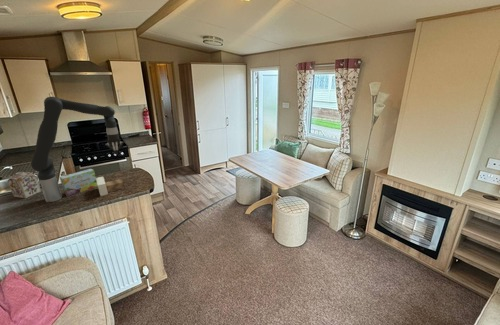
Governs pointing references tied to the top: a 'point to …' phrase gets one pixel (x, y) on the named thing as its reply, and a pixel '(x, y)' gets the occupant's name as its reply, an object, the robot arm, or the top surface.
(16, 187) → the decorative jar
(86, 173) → the snack box
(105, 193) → the cream rectangular block
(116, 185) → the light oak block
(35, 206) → the top surface
